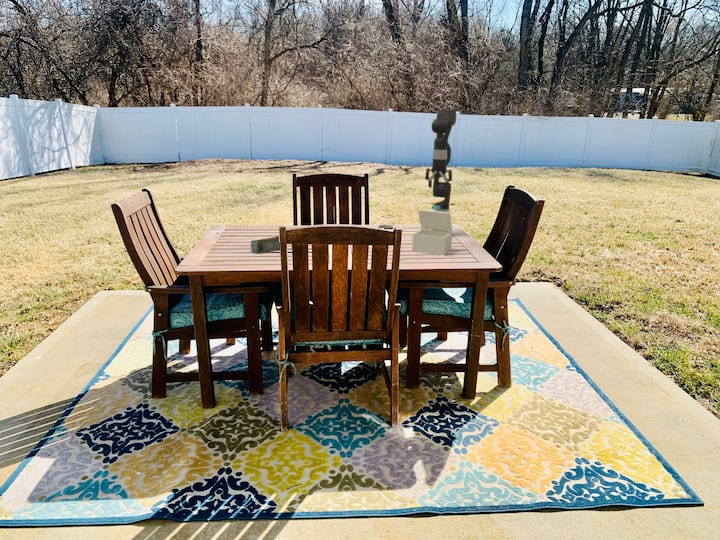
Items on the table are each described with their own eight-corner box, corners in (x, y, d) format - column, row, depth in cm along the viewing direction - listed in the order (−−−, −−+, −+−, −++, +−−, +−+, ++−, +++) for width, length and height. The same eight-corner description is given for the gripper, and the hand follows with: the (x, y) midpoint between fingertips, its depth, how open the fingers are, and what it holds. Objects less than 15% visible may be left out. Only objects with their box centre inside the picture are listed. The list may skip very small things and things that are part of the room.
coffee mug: (374, 242, 296) (375, 225, 293) (385, 240, 301) (386, 224, 298) (387, 246, 287) (388, 229, 284) (398, 244, 292) (399, 227, 289)
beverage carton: (250, 251, 274) (249, 239, 272) (281, 246, 285) (280, 234, 283) (257, 254, 268) (256, 242, 266) (288, 249, 279) (288, 237, 277)
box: (420, 245, 291) (421, 228, 288) (450, 249, 284) (452, 232, 281) (412, 251, 278) (413, 234, 275) (443, 255, 271) (445, 237, 268)
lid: (421, 228, 288) (424, 221, 291) (452, 231, 281) (454, 224, 284) (417, 210, 276) (420, 202, 279) (449, 213, 269) (452, 205, 272)
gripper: (454, 158, 270) (452, 188, 275) (429, 157, 276) (427, 186, 281) (451, 159, 264) (448, 190, 269) (425, 158, 269) (423, 188, 274)
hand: (437, 188), depth 275 cm, fingers open, 8 cm apart
